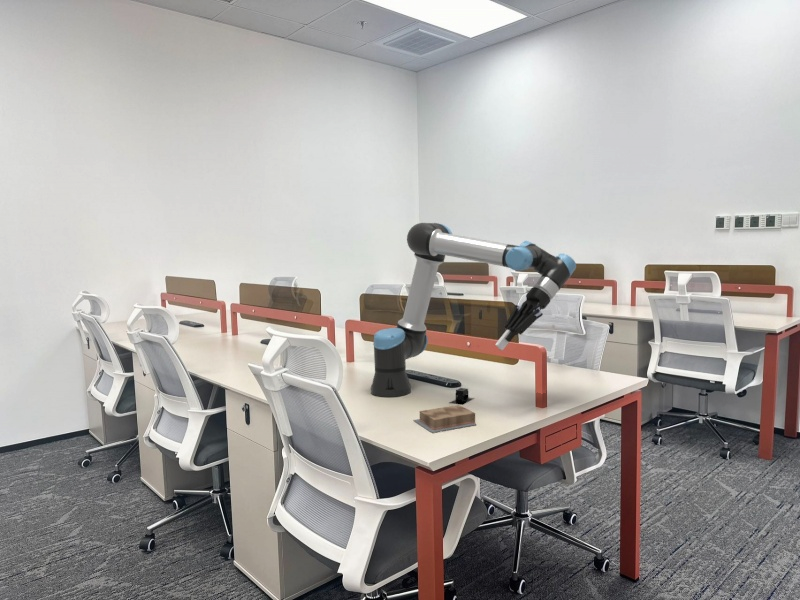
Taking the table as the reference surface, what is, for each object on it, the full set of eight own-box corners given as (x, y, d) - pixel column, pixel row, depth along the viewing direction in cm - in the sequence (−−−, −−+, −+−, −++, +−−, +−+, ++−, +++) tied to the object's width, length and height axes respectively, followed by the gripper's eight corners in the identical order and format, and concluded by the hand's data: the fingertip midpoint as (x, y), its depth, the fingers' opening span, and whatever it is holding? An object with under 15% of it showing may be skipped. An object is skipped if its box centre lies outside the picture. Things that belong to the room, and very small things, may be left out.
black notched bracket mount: (461, 396, 203) (461, 384, 202) (479, 399, 198) (479, 386, 198) (444, 405, 192) (444, 392, 192) (463, 408, 188) (463, 394, 188)
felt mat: (413, 421, 174) (413, 420, 174) (455, 413, 180) (455, 412, 180) (432, 433, 162) (432, 432, 162) (476, 425, 168) (476, 424, 168)
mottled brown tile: (458, 413, 179) (419, 420, 173) (458, 404, 179) (419, 411, 173) (475, 422, 170) (434, 429, 164) (475, 413, 170) (434, 420, 164)
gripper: (561, 303, 180) (517, 358, 175) (536, 299, 192) (494, 351, 187) (547, 287, 177) (503, 343, 173) (523, 284, 189) (481, 336, 184)
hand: (498, 347), depth 180 cm, fingers closed
